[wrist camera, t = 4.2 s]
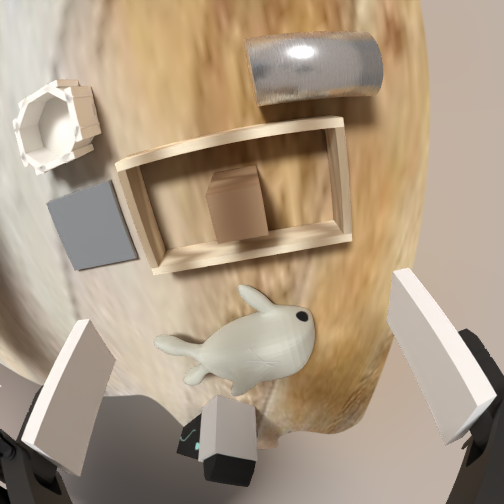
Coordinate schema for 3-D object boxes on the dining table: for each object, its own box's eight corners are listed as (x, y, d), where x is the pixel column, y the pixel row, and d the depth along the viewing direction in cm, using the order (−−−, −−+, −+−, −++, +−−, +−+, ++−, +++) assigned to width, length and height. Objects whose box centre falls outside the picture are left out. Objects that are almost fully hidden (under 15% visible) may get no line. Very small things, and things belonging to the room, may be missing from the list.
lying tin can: (255, 106, 24) (259, 106, 19) (243, 46, 21) (244, 30, 16) (359, 96, 24) (387, 95, 18) (349, 38, 21) (374, 25, 16)
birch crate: (161, 257, 31) (153, 275, 28) (128, 155, 26) (114, 163, 23) (341, 225, 30) (351, 240, 27) (331, 115, 25) (343, 117, 22)
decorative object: (175, 429, 51) (168, 492, 38) (217, 394, 44) (214, 476, 31) (209, 439, 53) (207, 500, 40) (258, 407, 47) (263, 483, 33)
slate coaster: (77, 267, 32) (75, 270, 31) (49, 201, 27) (46, 203, 27) (137, 255, 31) (136, 258, 31) (110, 179, 27) (108, 181, 26)
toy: (319, 358, 41) (333, 414, 32) (198, 381, 42) (193, 436, 34) (301, 263, 32) (320, 324, 24) (147, 299, 34) (124, 361, 26)
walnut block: (222, 211, 29) (217, 244, 23) (213, 173, 27) (205, 195, 21) (262, 204, 29) (268, 235, 23) (255, 165, 27) (260, 185, 21)
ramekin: (48, 170, 25) (27, 181, 22) (31, 104, 22) (9, 108, 18) (106, 146, 25) (87, 154, 22) (89, 73, 21) (68, 71, 18)
